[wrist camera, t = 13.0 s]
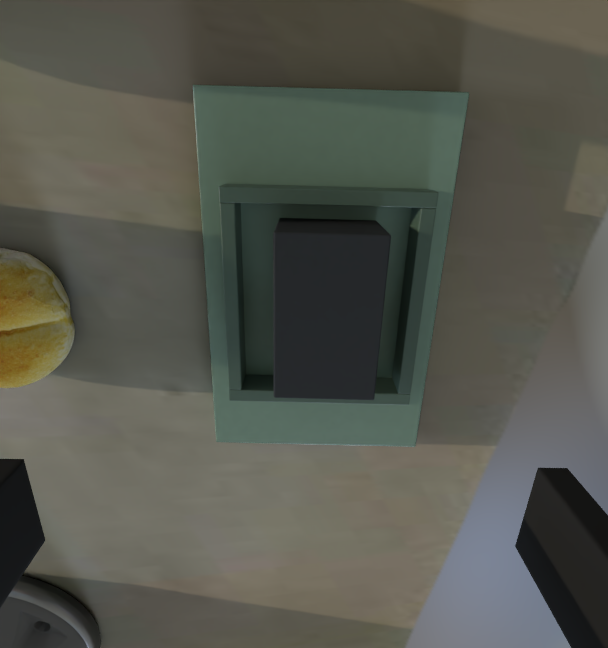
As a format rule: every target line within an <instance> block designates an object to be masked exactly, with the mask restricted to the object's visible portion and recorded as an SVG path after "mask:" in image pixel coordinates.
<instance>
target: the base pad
mask: <svg viewBox="0 0 608 648" xmlns="http://www.w3.org/2000/svg"><path fill="white" fill-rule="evenodd" d="M193 97H194V112H195V127H196V142H197V157H198V172H199V187H200V202H201V218H202V233H203V248H204V263H205V278H206V293H207V308H208V323H209V338H210V353H211V368H212V383H213V398H214V414H215V429H216V441H217V442H239V443H281V444H323V445H365V446H407V447H415V445H416V439H417V432H418V426H419V419H420V413H421V406H422V399H423V393H424V386H425V380H426V373H427V367H428V360H429V354H430V347H431V340H432V334H433V327H434V321H435V314H436V308H437V301H438V295H439V288H440V282H441V275H442V268H443V262H444V255H445V249H446V242H447V236H448V229H449V223H450V216H451V209H452V203H453V196H454V190H455V183H456V177H457V170H458V164H459V157H460V150H461V144H462V137H463V131H464V124H465V118H466V111H467V105H468V98H469V92H442V91H405V90H368V89H330V88H293V87H256V86H219V85H193ZM279 218H306V219H343V220H376V221H377V222H378V223H379V224H380V225H381V226H382V227H383V228H384V229H385V230H386V231H387V232H388V233H389V234H390V235H391V243H390V253H389V262H388V272H387V282H386V291H385V301H384V310H383V320H382V330H381V339H380V349H379V358H378V368H377V378H376V387H375V397H374V400H346V399H307V398H275V397H274V357H273V233H274V230H275V228H276V226H277V223H278V221H279Z"/></svg>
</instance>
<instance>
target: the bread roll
mask: <svg viewBox="0 0 608 648" xmlns="http://www.w3.org/2000/svg"><path fill="white" fill-rule="evenodd" d="M74 334H75V327H74V322H73V320H72V318H71V315H70V302H69V298H68V296H67V293H66V292H65V290H64V288H63V286H62V284H61V282H60V280H59V279H58V278H57V276H56V275H55V274H54V272H53V271H52V270H51V269H50V268H48V267H47V266H46V265H45V264H44V263H42V262H41V261H39V260H38V259H37V258H35V257H33V256H32V255H30V254H28V253H24V252H19V251H13V250H9V249H5V248H0V388H13V387H21V386H25V385H28V384H31V383H34V382H36V381H38V380H40V379H42V378H44V377H45V376H47V375H48V374H50V373H51V372H52V371H53V370H55V369H56V368H57V367H58V366H59V365H60V364H61V363H62V362H63V360H64V359H65V358H66V357H67V355H68V353H69V352H70V350H71V347H72V344H73V341H74Z"/></svg>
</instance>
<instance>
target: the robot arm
mask: <svg viewBox="0 0 608 648" xmlns="http://www.w3.org/2000/svg"><path fill="white" fill-rule="evenodd" d="M44 541H45V537H44V533H43V530H42V526H41V522H40V519H39V515H38V511H37V507H36V504H35V500H34V496H33V492H32V489H31V485H30V481H29V478H28V474H27V470H26V466H25V463H24V459H0V648H100V644H101V637H100V632H99V628H98V626H97V624H96V622H95V620H94V618H93V617H92V616H91V614H90V613H89V612H88V611H87V610H86V608H85V607H84V606H83V605H82V604H80V603H79V602H78V601H77V600H76V599H74V598H73V597H71V596H70V595H68V594H67V593H65V592H64V591H62V590H60V589H58V588H56V587H54V586H52V585H50V584H47V583H45V582H42V581H39V580H36V579H32V578H29V577H24V576H22V574H23V573H24V571H25V570H26V568H27V567H28V565H29V564H30V562H31V561H32V559H33V558H34V556H35V555H36V553H37V552H38V550H39V549H40V547H41V546H42V544H43V543H44ZM516 548H517V550H518V552H519V554H520V556H521V558H522V559H523V561H524V563H525V565H526V567H527V568H528V570H529V572H530V574H531V576H532V577H533V579H534V581H535V583H536V584H537V586H538V588H539V590H540V592H541V594H542V595H543V597H544V599H545V601H546V603H547V604H548V606H549V608H550V610H551V611H552V614H553V615H554V617H555V619H556V621H557V623H558V624H559V626H560V628H561V630H562V631H563V634H564V635H565V637H566V639H567V641H568V643H569V644H570V646H571V648H608V515H607V514H606V513H605V512H604V511H603V510H602V508H601V507H600V506H599V505H598V504H597V502H596V501H595V500H594V499H593V498H592V497H591V495H590V494H589V493H588V492H587V491H586V490H585V488H584V487H583V486H582V485H581V484H580V483H579V482H578V480H577V479H576V478H575V477H574V476H573V474H572V473H571V472H570V471H569V470H568V469H567V468H538V470H537V473H536V477H535V480H534V483H533V487H532V491H531V494H530V497H529V501H528V504H527V508H526V511H525V514H524V518H523V521H522V525H521V528H520V532H519V535H518V539H517V542H516Z"/></svg>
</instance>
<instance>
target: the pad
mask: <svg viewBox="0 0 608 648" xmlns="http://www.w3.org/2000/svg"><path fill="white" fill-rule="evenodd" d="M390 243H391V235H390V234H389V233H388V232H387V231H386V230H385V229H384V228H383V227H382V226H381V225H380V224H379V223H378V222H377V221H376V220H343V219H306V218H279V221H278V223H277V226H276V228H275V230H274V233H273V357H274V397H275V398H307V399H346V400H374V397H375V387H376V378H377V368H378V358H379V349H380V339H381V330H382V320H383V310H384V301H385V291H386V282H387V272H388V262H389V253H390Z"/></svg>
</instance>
